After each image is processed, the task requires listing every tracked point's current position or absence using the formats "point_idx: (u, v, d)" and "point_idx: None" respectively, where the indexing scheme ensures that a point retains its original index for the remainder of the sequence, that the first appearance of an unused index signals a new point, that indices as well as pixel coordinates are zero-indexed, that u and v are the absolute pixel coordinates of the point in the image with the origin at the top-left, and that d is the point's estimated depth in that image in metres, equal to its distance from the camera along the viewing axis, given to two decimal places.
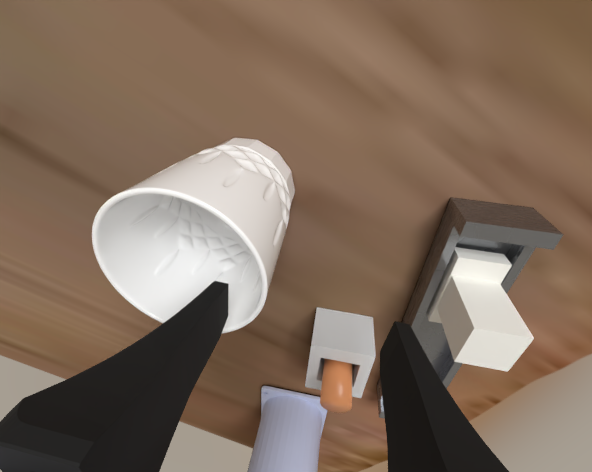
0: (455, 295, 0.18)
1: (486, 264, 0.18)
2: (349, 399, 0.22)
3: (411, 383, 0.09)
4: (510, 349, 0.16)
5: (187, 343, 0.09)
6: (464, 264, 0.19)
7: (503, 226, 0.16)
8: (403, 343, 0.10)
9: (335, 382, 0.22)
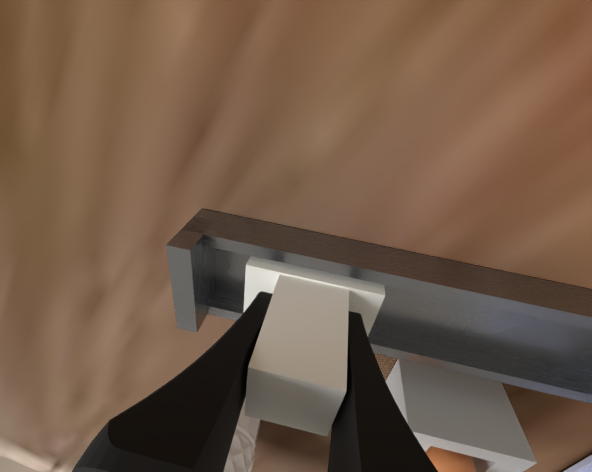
0: None
1: (249, 289, 0.13)
2: None
3: (349, 368, 0.09)
4: (282, 388, 0.09)
5: (246, 357, 0.09)
6: None
7: (174, 298, 0.13)
8: None
9: None
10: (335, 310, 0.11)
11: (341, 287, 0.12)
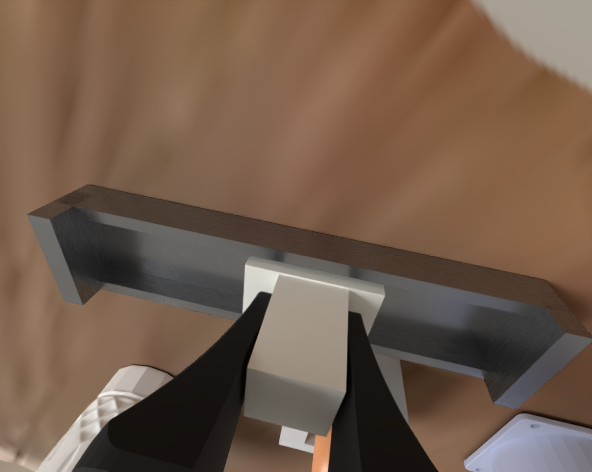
0: None
1: (248, 289, 0.13)
2: None
3: (349, 368, 0.09)
4: (281, 388, 0.09)
5: (246, 357, 0.09)
6: None
7: (53, 270, 0.13)
8: None
9: (312, 470, 0.14)
10: (335, 310, 0.11)
11: (341, 287, 0.12)
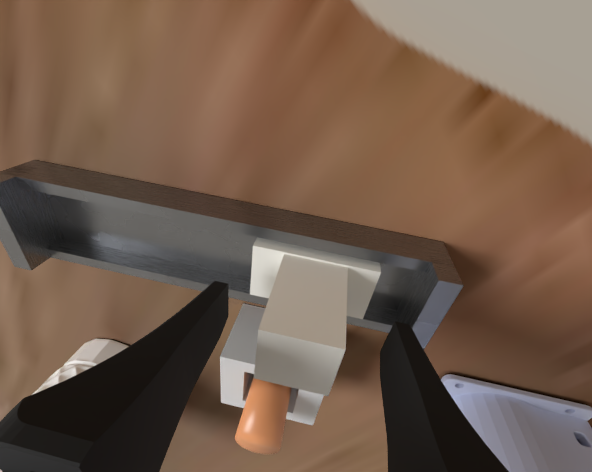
0: None
1: (256, 269, 0.14)
2: (245, 427, 0.15)
3: (411, 383, 0.09)
4: (288, 349, 0.10)
5: (187, 343, 0.09)
6: (259, 288, 0.15)
7: (0, 236, 0.15)
8: (403, 343, 0.10)
9: None
10: (335, 284, 0.12)
11: (340, 265, 0.13)
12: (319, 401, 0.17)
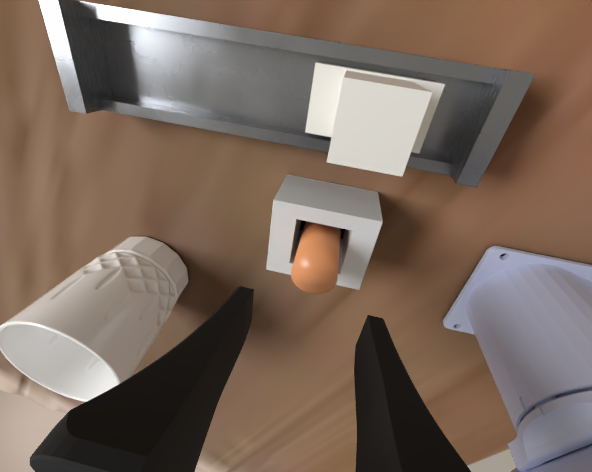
0: None
1: (315, 96, 0.14)
2: (303, 256, 0.15)
3: (377, 375, 0.09)
4: (371, 104, 0.10)
5: (219, 350, 0.09)
6: (315, 123, 0.15)
7: (59, 69, 0.15)
8: (373, 336, 0.11)
9: None
10: (404, 81, 0.12)
11: (404, 78, 0.13)
12: (370, 252, 0.17)
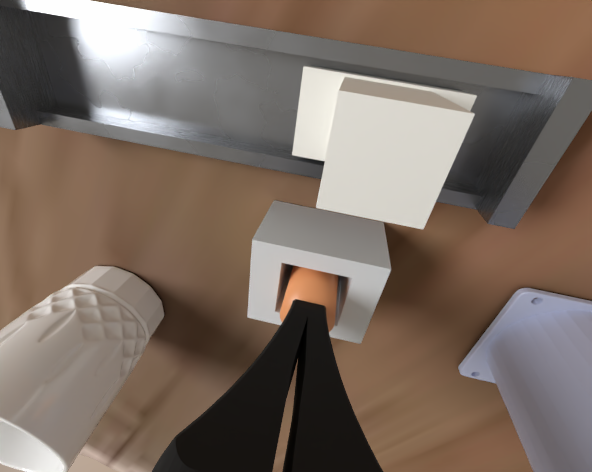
0: None
1: (303, 110, 0.11)
2: (293, 296, 0.12)
3: (304, 358, 0.10)
4: (380, 130, 0.07)
5: (292, 368, 0.09)
6: (305, 144, 0.12)
7: None
8: (308, 321, 0.11)
9: None
10: (424, 93, 0.09)
11: (422, 88, 0.10)
12: (374, 303, 0.13)
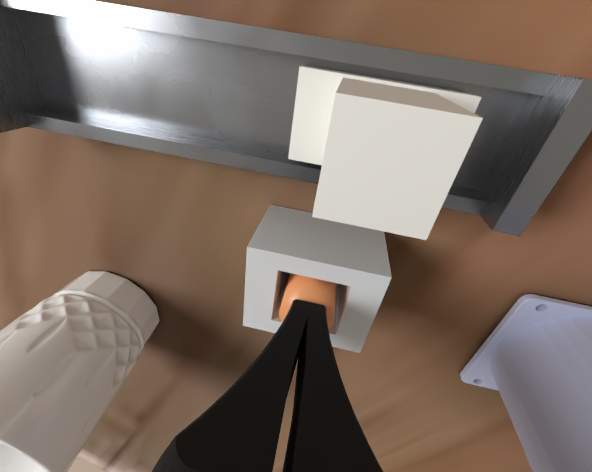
0: None
1: (300, 112, 0.11)
2: (293, 294, 0.12)
3: (304, 358, 0.10)
4: (381, 135, 0.06)
5: (292, 368, 0.09)
6: (301, 147, 0.11)
7: None
8: (308, 321, 0.11)
9: None
10: (426, 95, 0.08)
11: (424, 89, 0.09)
12: (374, 312, 0.13)
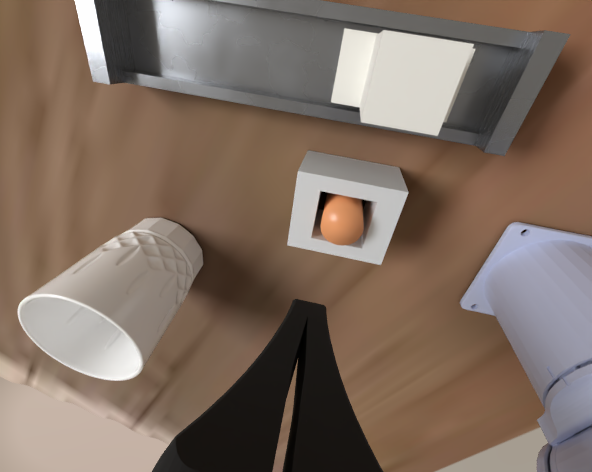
0: None
1: (342, 64, 0.14)
2: (332, 209, 0.16)
3: (305, 358, 0.10)
4: (410, 58, 0.10)
5: (292, 368, 0.09)
6: (341, 92, 0.15)
7: (84, 38, 0.15)
8: (308, 321, 0.11)
9: None
10: None
11: None
12: (394, 225, 0.17)
